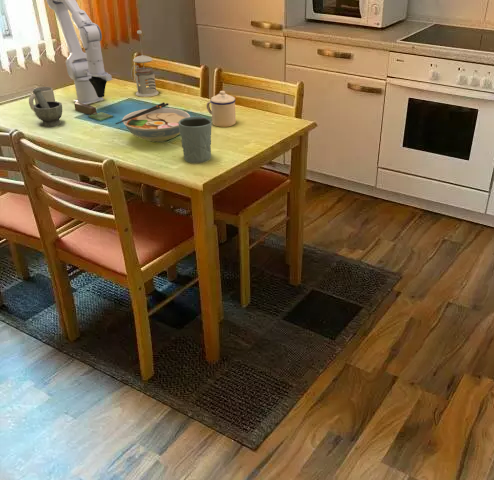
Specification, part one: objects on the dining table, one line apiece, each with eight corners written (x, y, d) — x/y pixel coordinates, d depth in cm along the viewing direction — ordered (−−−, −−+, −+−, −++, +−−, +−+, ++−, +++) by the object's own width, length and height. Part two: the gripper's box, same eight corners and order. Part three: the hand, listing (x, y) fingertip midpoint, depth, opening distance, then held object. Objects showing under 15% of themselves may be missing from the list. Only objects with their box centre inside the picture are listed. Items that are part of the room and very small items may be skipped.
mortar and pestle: (70, 123, 214) (64, 90, 208) (48, 130, 208) (40, 96, 201) (52, 117, 220) (45, 84, 213) (30, 123, 214) (22, 90, 207)
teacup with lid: (241, 121, 217) (240, 90, 210) (226, 128, 210) (225, 96, 204) (215, 116, 222) (213, 85, 215) (200, 123, 215) (198, 91, 209)
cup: (61, 112, 225) (56, 88, 220) (37, 118, 218) (31, 94, 213) (51, 108, 229) (46, 85, 224) (27, 114, 222) (21, 90, 217)
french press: (163, 92, 248) (156, 29, 234) (144, 99, 240) (136, 34, 226) (146, 88, 252) (139, 27, 238) (127, 95, 244) (117, 31, 230)
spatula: (70, 111, 226) (69, 104, 224) (83, 107, 230) (82, 100, 228) (100, 121, 217) (98, 113, 215) (113, 117, 220) (111, 109, 219)
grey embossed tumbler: (176, 161, 185) (172, 124, 178) (191, 150, 193) (188, 114, 186) (204, 166, 182) (201, 128, 175) (219, 154, 190) (217, 118, 183)
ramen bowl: (158, 157, 188) (155, 132, 183) (108, 143, 198) (104, 119, 193) (207, 134, 205) (205, 111, 201) (158, 122, 215) (156, 100, 211)
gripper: (74, 59, 218) (80, 95, 226) (98, 65, 211) (104, 102, 218) (89, 55, 223) (96, 91, 230) (113, 61, 215) (119, 98, 223)
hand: (101, 96), depth 225 cm, fingers closed
